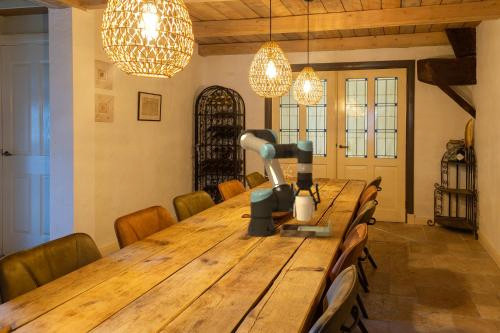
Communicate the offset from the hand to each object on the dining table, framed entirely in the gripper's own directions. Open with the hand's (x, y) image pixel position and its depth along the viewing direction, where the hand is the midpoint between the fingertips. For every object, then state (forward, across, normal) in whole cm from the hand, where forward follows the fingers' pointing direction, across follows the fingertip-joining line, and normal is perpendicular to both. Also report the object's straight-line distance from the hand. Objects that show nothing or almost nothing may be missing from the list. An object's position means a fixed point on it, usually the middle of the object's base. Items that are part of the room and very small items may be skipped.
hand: (303, 216), depth 224 cm
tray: (+11, +5, +13) cm, 18 cm away
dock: (+12, -3, +13) cm, 18 cm away
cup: (+2, 0, 0) cm, 2 cm away
